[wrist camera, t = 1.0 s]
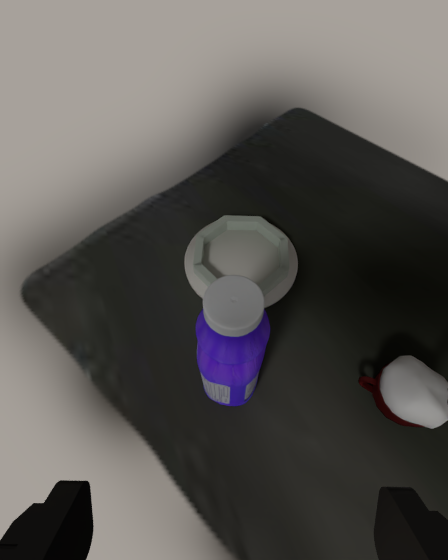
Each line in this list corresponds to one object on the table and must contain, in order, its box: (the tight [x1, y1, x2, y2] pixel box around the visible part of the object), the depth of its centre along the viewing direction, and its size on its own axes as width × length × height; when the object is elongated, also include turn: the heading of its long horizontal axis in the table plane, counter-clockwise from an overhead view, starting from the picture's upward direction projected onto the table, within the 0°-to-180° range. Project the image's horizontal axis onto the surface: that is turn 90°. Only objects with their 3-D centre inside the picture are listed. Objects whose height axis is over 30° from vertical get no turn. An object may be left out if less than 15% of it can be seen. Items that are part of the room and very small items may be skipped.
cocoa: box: [359, 355, 448, 429], centre depth 29 cm, size 10×6×12 cm, turn 49°
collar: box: [184, 215, 298, 308], centre depth 42 cm, size 15×15×2 cm
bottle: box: [196, 275, 270, 406], centre depth 28 cm, size 7×6×17 cm
